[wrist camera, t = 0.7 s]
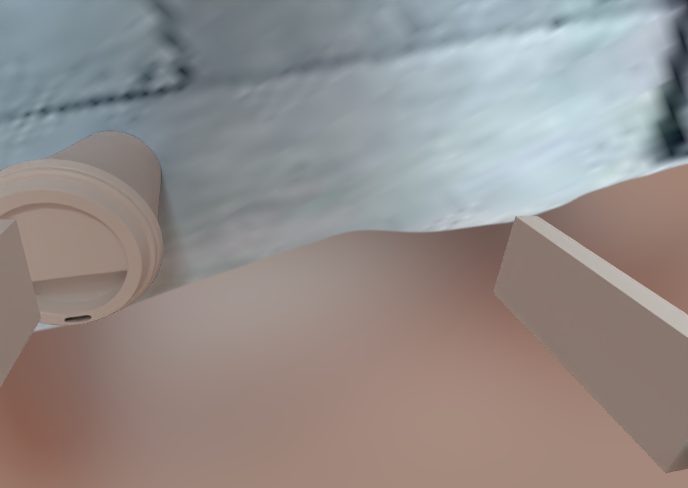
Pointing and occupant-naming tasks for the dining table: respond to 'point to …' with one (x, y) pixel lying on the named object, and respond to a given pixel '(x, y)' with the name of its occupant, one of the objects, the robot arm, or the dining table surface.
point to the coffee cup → (87, 225)
